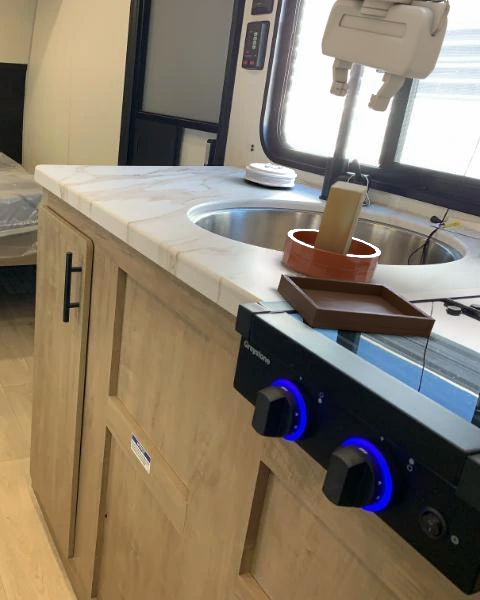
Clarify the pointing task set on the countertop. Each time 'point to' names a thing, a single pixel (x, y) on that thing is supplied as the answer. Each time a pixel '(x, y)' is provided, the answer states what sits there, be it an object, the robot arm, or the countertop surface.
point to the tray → (354, 306)
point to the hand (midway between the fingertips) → (355, 102)
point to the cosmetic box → (340, 217)
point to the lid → (270, 175)
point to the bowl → (329, 258)
